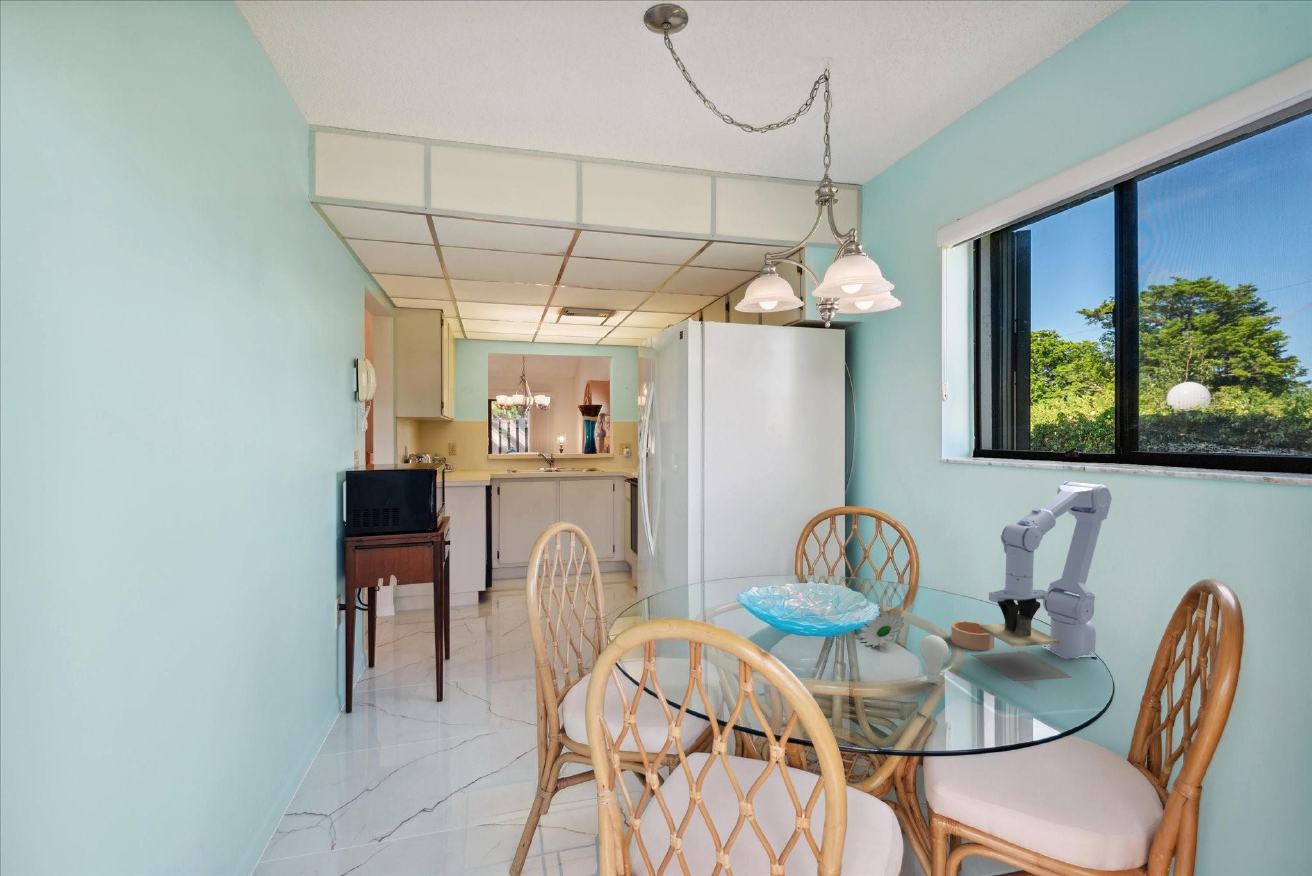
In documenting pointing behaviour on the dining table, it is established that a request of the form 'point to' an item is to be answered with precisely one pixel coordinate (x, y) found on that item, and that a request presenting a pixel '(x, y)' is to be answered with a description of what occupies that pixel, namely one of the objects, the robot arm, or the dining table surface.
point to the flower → (882, 629)
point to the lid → (1019, 633)
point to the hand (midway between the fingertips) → (1017, 629)
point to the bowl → (971, 636)
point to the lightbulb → (933, 656)
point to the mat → (1021, 666)
